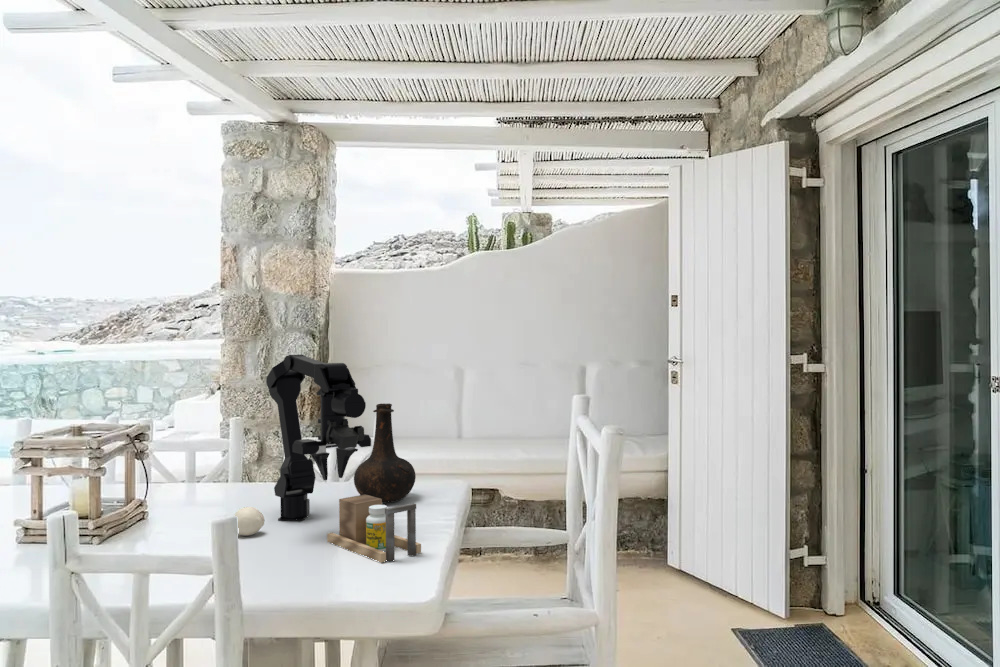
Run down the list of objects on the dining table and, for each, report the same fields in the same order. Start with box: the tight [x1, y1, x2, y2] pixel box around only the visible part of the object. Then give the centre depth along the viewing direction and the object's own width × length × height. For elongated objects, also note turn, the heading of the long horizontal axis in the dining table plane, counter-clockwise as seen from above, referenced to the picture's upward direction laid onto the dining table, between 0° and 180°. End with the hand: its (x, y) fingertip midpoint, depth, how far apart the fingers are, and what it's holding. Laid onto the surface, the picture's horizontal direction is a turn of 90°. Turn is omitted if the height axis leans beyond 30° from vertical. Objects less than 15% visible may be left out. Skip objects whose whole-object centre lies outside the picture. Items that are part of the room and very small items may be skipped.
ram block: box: [338, 494, 383, 545], centre depth 167 cm, size 7×7×10 cm
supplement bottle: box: [366, 504, 388, 552], centre depth 162 cm, size 5×5×10 cm
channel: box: [326, 503, 422, 563], centre depth 163 cm, size 23×10×11 cm, turn 43°
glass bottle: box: [353, 403, 416, 504], centre depth 211 cm, size 18×18×28 cm
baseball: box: [234, 506, 266, 537], centre depth 175 cm, size 7×7×7 cm
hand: (333, 479), depth 176 cm, fingers open, 4 cm apart
